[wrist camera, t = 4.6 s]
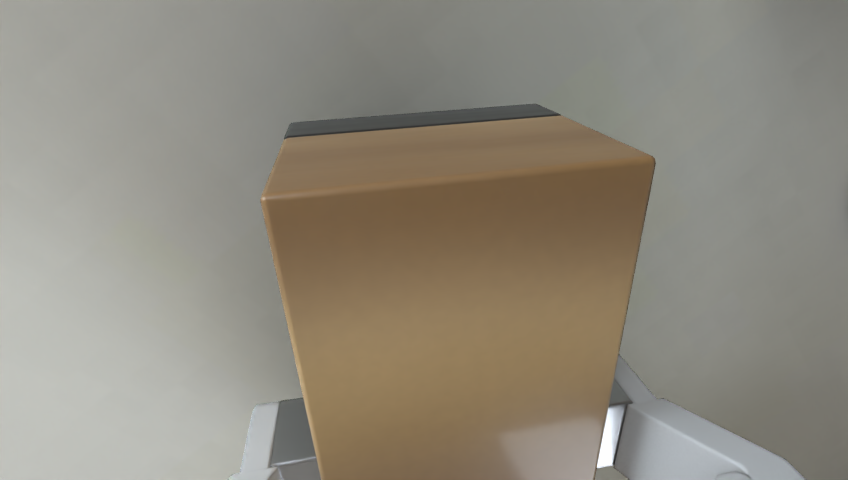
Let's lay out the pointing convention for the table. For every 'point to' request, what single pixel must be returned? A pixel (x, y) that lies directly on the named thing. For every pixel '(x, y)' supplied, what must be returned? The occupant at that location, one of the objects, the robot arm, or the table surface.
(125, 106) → the table surface
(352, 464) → the eraser
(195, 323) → the table surface
